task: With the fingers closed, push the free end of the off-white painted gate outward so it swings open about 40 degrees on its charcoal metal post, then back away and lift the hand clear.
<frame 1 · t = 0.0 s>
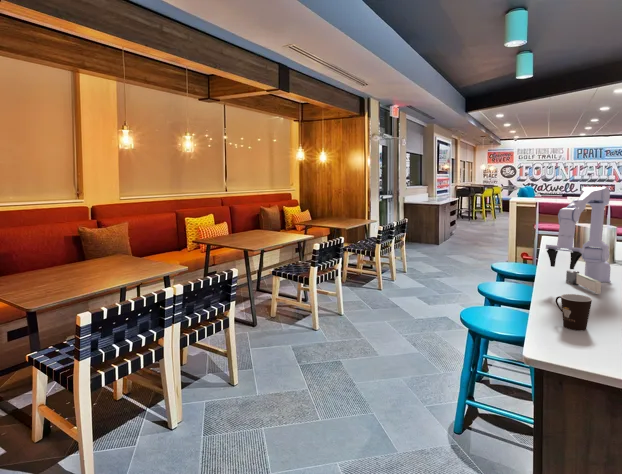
hand: (562, 267, 176), 11 cm above the table, tool pointing down, fingers open, 7 cm apart
gate post: (575, 284, 189), on the table
gate: (587, 283, 179), point 3 cm above the table, hinge at 0.0°
coffee mug: (572, 326, 138), on the table
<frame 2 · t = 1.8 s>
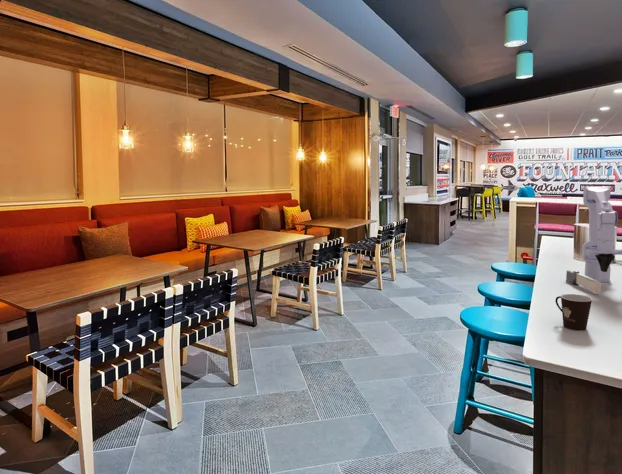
hand: (603, 271, 177), 8 cm above the table, tool pointing down, fingers closed
nothing on the table moved.
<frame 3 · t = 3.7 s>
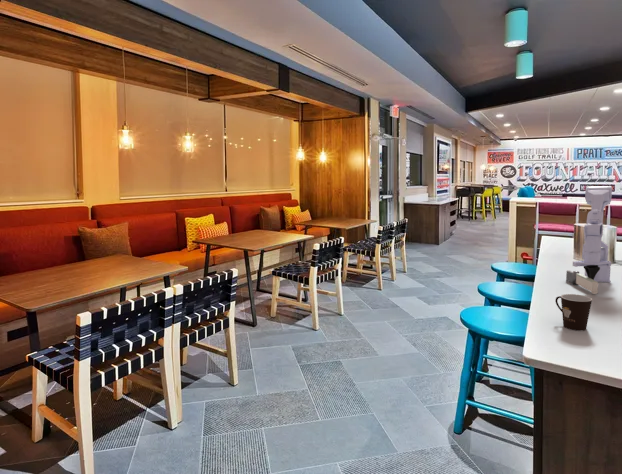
hand: (590, 282, 178), 3 cm above the table, tool pointing down, fingers closed
gate: (586, 283, 179), point 3 cm above the table, hinge at 4.0°, touching gripper
everything else where it was.
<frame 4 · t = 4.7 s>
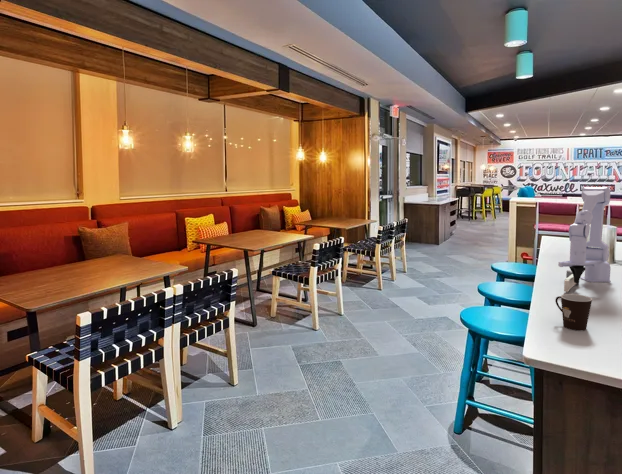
hand: (576, 282, 179), 3 cm above the table, tool pointing down, fingers closed
gate: (570, 282, 181), point 3 cm above the table, hinge at 37.8°, touching gripper
everything else where it was.
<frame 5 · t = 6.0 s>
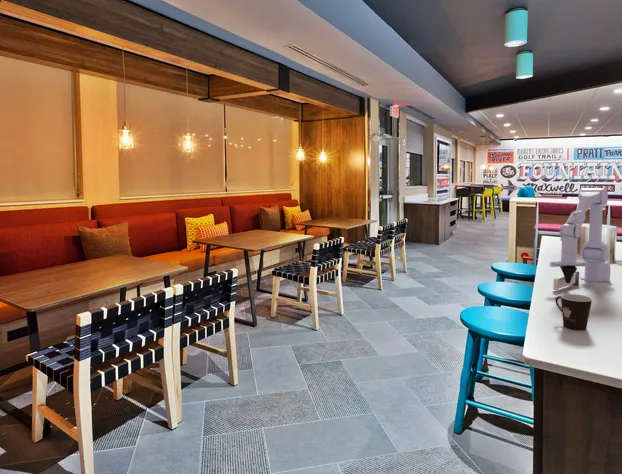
hand: (567, 282, 179), 3 cm above the table, tool pointing down, fingers closed
gate: (565, 281, 183), point 3 cm above the table, hinge at 51.4°, touching gripper
everything else where it was.
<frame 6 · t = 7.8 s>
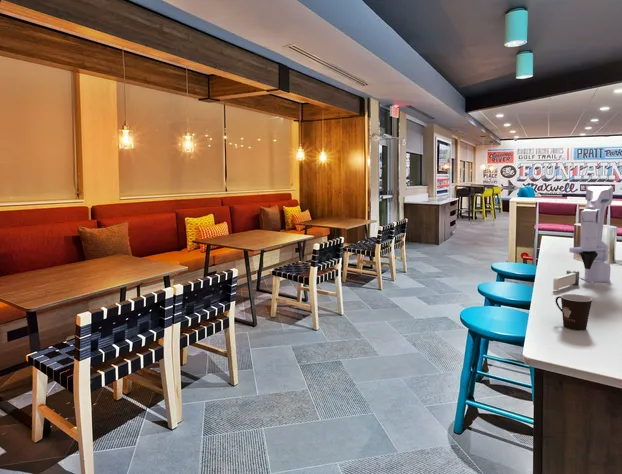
hand: (587, 268, 179), 9 cm above the table, tool pointing down, fingers closed
gate: (564, 281, 183), point 3 cm above the table, hinge at 51.5°
everything else where it was.
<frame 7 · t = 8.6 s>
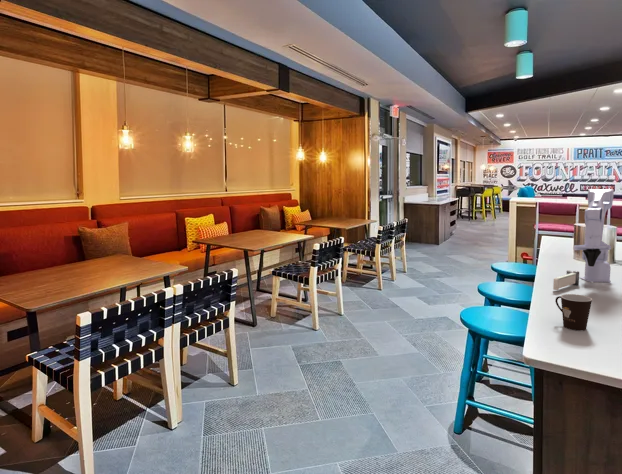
hand: (591, 266, 183), 9 cm above the table, tool pointing down, fingers closed
nothing on the table moved.
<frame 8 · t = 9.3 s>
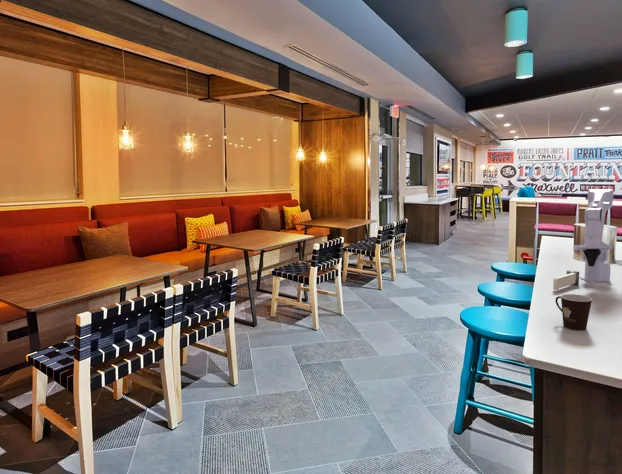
hand: (591, 266, 183), 9 cm above the table, tool pointing down, fingers closed
nothing on the table moved.
at the end: gate at +52° (first picture: +0°); coffee mug moved 0.2 cm from its start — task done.
